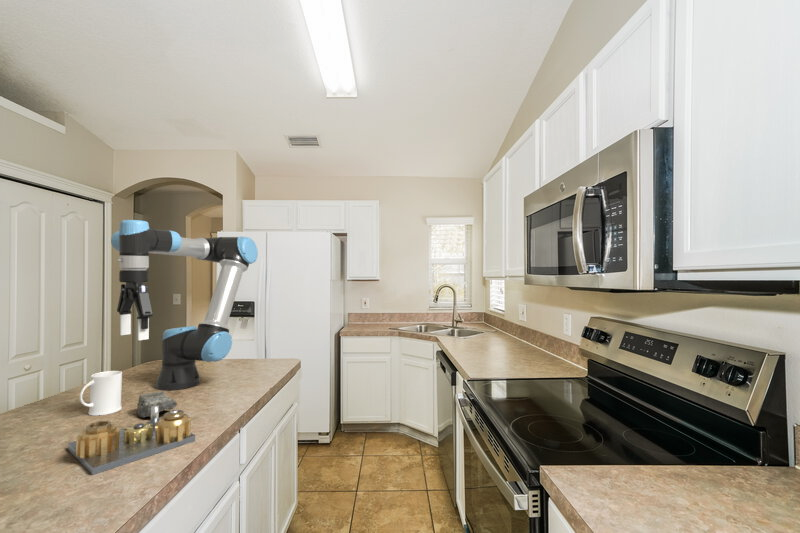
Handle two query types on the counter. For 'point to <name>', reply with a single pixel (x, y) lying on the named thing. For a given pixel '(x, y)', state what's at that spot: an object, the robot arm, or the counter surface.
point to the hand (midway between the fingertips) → (134, 337)
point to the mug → (104, 393)
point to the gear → (97, 439)
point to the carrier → (142, 440)
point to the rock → (154, 403)
